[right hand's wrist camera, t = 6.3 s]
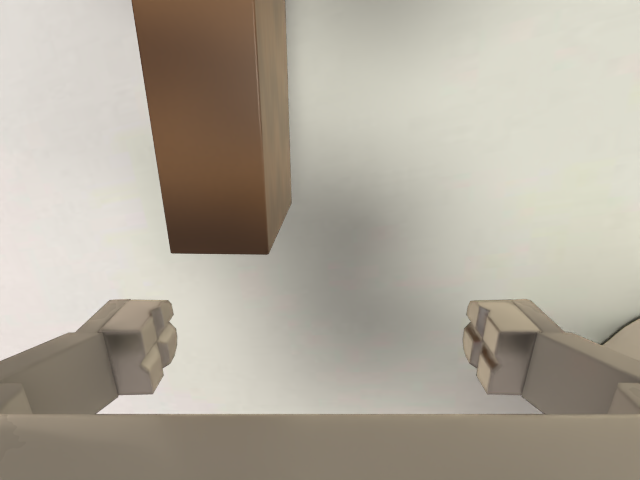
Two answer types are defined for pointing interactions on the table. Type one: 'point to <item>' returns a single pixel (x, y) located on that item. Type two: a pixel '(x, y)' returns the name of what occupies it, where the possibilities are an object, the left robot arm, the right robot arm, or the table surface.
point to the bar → (218, 120)
